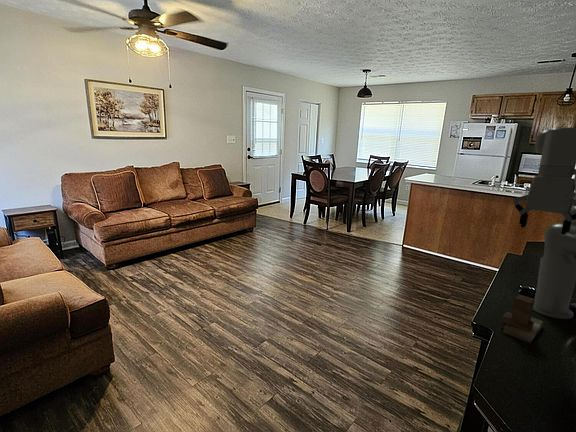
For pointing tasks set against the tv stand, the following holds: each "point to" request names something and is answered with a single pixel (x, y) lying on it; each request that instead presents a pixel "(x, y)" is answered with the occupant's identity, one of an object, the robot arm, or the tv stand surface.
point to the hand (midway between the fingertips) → (542, 230)
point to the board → (524, 331)
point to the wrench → (540, 267)
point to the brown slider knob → (520, 314)
